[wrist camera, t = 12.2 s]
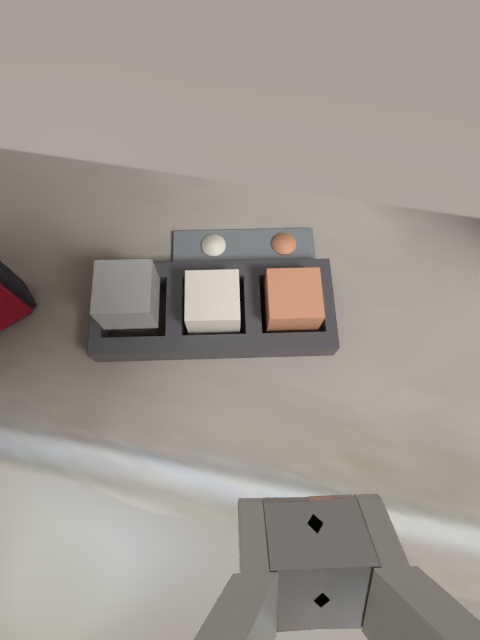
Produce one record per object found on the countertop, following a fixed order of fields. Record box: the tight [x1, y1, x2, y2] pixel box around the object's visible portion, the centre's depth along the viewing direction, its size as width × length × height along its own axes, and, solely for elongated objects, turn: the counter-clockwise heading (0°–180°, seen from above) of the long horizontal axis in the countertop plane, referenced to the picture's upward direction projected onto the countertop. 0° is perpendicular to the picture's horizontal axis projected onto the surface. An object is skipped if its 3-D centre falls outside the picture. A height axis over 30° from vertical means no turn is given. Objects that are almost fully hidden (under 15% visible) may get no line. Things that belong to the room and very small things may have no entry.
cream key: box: [184, 269, 241, 335], centre depth 37 cm, size 5×5×4 cm
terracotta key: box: [264, 267, 325, 333], centre depth 37 cm, size 5×5×4 cm
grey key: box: [90, 259, 160, 329], centre depth 35 cm, size 5×5×4 cm
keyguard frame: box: [87, 259, 340, 362], centre depth 39 cm, size 22×9×2 cm, turn 92°
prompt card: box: [173, 228, 315, 262], centre depth 42 cm, size 14×4×1 cm, turn 92°
